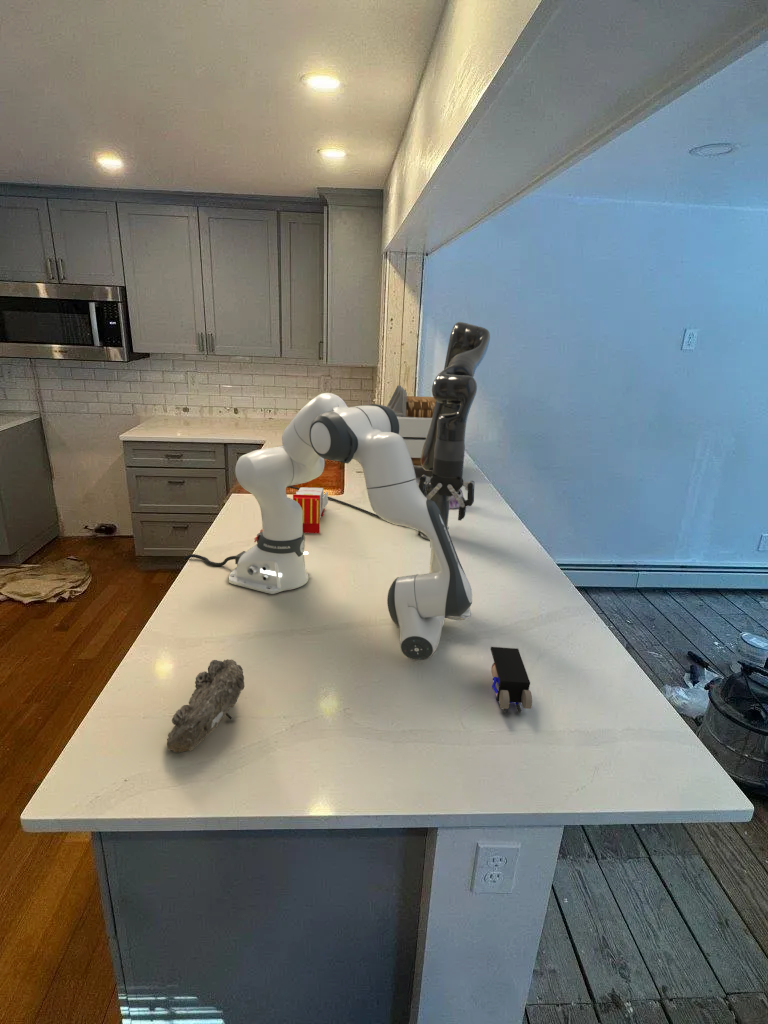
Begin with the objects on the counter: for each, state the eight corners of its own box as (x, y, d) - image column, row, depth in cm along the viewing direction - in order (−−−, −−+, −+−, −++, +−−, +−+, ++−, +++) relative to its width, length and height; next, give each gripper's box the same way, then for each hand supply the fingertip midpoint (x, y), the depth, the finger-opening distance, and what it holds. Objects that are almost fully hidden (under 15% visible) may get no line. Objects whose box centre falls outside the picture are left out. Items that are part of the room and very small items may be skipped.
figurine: (450, 510, 225) (453, 474, 220) (436, 502, 234) (439, 467, 228) (469, 507, 229) (473, 472, 224) (455, 500, 238) (458, 465, 233)
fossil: (192, 660, 117) (244, 628, 112) (224, 691, 120) (276, 661, 115) (142, 746, 98) (202, 712, 93) (182, 779, 101) (242, 748, 96)
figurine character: (531, 725, 112) (514, 671, 125) (537, 696, 108) (519, 644, 122) (497, 724, 111) (484, 671, 125) (502, 695, 108) (488, 644, 121)
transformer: (382, 463, 289) (386, 382, 275) (445, 464, 293) (451, 384, 279) (390, 482, 257) (394, 392, 243) (460, 483, 261) (468, 394, 247)
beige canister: (444, 598, 157) (449, 539, 151) (441, 605, 153) (446, 545, 147) (429, 595, 158) (434, 537, 152) (425, 602, 154) (430, 542, 148)
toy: (329, 482, 221) (323, 496, 191) (328, 516, 224) (322, 535, 194) (297, 482, 220) (287, 495, 191) (297, 515, 223) (287, 534, 194)
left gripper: (471, 608, 134) (475, 582, 146) (386, 596, 137) (397, 571, 150) (468, 631, 136) (472, 604, 149) (385, 618, 140) (396, 593, 152)
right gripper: (480, 456, 143) (473, 516, 148) (425, 449, 147) (421, 508, 153) (474, 463, 136) (468, 526, 141) (417, 456, 140) (413, 517, 146)
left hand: (434, 587), depth 149 cm, fingers open, 8 cm apart
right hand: (443, 517), depth 147 cm, fingers open, 8 cm apart
